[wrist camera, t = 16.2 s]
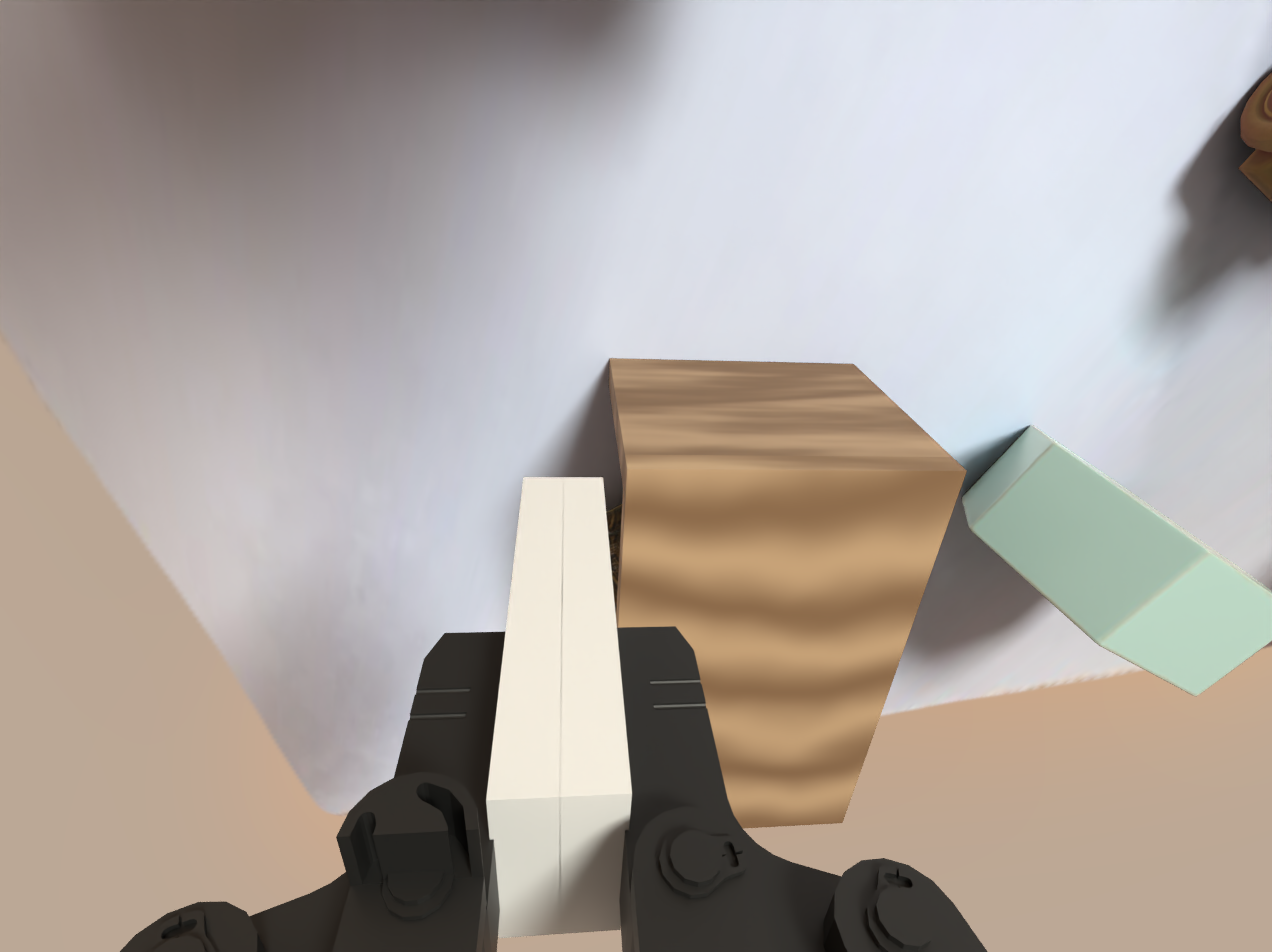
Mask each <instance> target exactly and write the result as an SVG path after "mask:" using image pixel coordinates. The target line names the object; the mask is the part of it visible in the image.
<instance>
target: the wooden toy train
mask: <svg viewBox="0 0 1272 952" xmlns="http://www.w3.org/2000/svg"><path fill="white" fill-rule="evenodd" d="M1241 138H1242V140H1243V141H1244V142H1245V143H1246V145H1247V146H1248V147H1252V148H1255V149H1256V150H1255V151H1254V152H1253V153H1252V154H1251V155H1250V156H1249V157H1248V158H1247V159H1246V161H1245V162H1244V163H1243V164H1242V165H1241V166H1240V167H1239V168H1238V169H1239V170H1240V171H1241V172H1242V173H1243V174H1244V175H1245V176H1246V177H1247V178H1248V179H1249V180H1250V181H1251V182H1252V183H1253V184H1254V185H1255V186H1256V187H1257V188H1258V189H1259V190H1260V191H1261V192H1262V193H1263V194H1264V195H1265V196H1266V197H1267V198H1268V199H1269V200H1270V201H1271V202H1272V73H1271V74H1270V75H1268V76H1267V77H1266V78H1265V79H1264V80H1263V81H1262V82H1261V83H1260V85H1259V86H1258V87H1257V89H1256V90H1255V92H1254V93H1253V94H1252V96H1251V97H1250V98H1249V100H1248V101H1247V103H1246V105H1245V108H1244V110H1243V112H1242V115H1241Z"/></svg>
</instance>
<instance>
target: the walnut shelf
mask: <svg viewBox="0 0 1272 952" xmlns="http://www.w3.org/2000/svg"><path fill="white" fill-rule="evenodd" d="M609 391H610V398H611V406H612V413H613V420H614V427H615V434H616V441H617V448H618V455H619V463H620V470H621V477H622V484H623V500H622V518H621V537H620V555H619V573H618V592H617V610H616V624H617V628H620V627H669V626H676V628H677V629H678V630H679V632H680V633H681V634H682V635H683V637H684V638H685V639H686V641H687V642H688V643H689V644H690V646H691V647H692V648H693V650H694V652H695V657H696V661H697V665H698V670H699V674H700V682H701V684H702V687H703V692H704V696H705V701H706V708H707V709H708V714H709V718H710V723H711V727H712V731H713V736H714V740H715V745H716V749H717V753H718V758H719V762H720V767H721V771H722V775H723V780H724V784H725V789H726V793H727V797H728V801H729V803H730V806H731V809H732V812H733V815H734V816H735V818H736V819H737V821H738V822H739V824H740V825H741V827H742V828H758V827H775V826H795V825H813V824H832V823H842V822H843V820H844V817H845V814H846V811H847V808H848V805H849V803H850V800H851V797H852V794H853V791H854V788H855V786H856V783H857V780H858V777H859V774H860V771H861V769H862V766H863V763H864V760H865V757H866V755H867V751H868V749H869V746H870V743H871V740H872V738H873V735H874V732H875V729H876V726H877V723H878V721H879V718H880V715H881V712H882V709H883V707H884V704H885V701H886V698H887V695H888V692H889V690H890V687H891V684H892V681H893V678H894V675H895V673H896V670H897V667H898V664H899V661H900V659H901V656H902V653H903V650H904V647H905V644H906V642H907V639H908V636H909V633H910V630H911V627H912V625H913V622H914V619H915V616H916V613H917V610H918V608H919V605H920V602H921V599H922V596H923V594H924V591H925V588H926V585H927V582H928V579H929V577H930V574H931V571H932V568H933V565H934V562H935V560H936V557H937V554H938V551H939V548H940V546H941V543H942V540H943V537H944V534H945V531H946V529H947V526H948V523H949V520H950V517H951V514H952V512H953V509H954V506H955V503H956V500H957V497H958V495H959V492H960V489H961V486H962V483H963V481H964V478H965V475H966V472H967V471H966V470H965V469H964V468H963V467H962V466H961V465H960V464H959V463H958V462H957V461H956V460H955V459H954V458H953V457H952V456H951V455H949V454H948V453H947V452H946V451H945V450H944V449H943V448H942V447H941V446H940V445H939V444H938V443H937V442H936V441H935V440H934V439H933V438H931V437H930V436H929V435H928V434H927V433H926V432H925V431H924V430H923V429H922V428H921V427H920V426H919V425H918V424H917V423H916V422H915V421H913V420H912V419H911V418H910V417H909V416H908V415H907V414H906V413H905V412H904V411H903V410H902V409H901V408H900V407H899V406H898V405H897V404H895V403H894V402H893V401H892V400H891V399H890V398H889V397H888V396H887V395H886V394H885V393H884V392H883V391H882V390H881V389H880V388H878V387H877V386H876V385H875V384H874V383H873V382H872V381H871V380H870V379H869V378H868V377H867V376H866V375H865V374H864V373H863V372H862V371H860V370H859V369H858V368H857V367H856V366H855V365H854V364H832V363H789V362H745V361H702V360H659V359H616V358H610V364H609Z"/></svg>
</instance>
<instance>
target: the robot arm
mask: <svg viewBox="0 0 1272 952" xmlns="http://www.w3.org/2000/svg"><path fill="white" fill-rule="evenodd" d="M336 838H337V841H338V845H339V848H340V852H341V855H342V859H343V862H344V866H345V869H346V872H345V873H344V874H343V875H341V876H340V877H338V878H337V879H336V880H334V881H333V882H332V883H330V884H328V885H326V886H324V887H322V888H320V889H318V890H316V891H314V892H312V893H310V894H308V895H305V896H302V897H299V898H297V899H294V900H291V901H289V902H286V903H284V904H281V905H278V906H276V907H273V908H270V909H268V910H265V911H263V912H260V913H257V914H255V915H252V916H248V914H247V912H245V911H244V910H241V909H239V908H238V907H235V906H233V905H231V904H230V903H227V902H197V903H195V904H192V905H189V906H186V907H184V908H181V909H178V910H175V911H173V912H170V913H167V914H166V915H164V916H163V917H161V918H160V919H158V920H157V921H155V922H154V923H152V924H151V925H149V926H148V927H147V928H145V929H144V930H142V931H141V932H139V933H138V934H136V935H135V936H134V937H133V938H132V939H131V940H130V941H129V942H128V944H127V945H126V946H125V947H124V948H123V949H122V950H121V951H120V952H497V939H498V935H499V938H507V937H521V936H535V935H549V934H564V933H579V932H594V931H608V930H620V928H621V935H622V950H623V952H987V951H986V949H985V948H984V946H983V945H982V943H981V942H980V941H979V939H978V938H977V936H976V935H975V933H974V932H973V931H972V929H971V928H970V926H969V925H968V923H967V922H966V921H965V919H964V918H963V916H962V915H961V913H960V912H959V911H958V909H957V908H956V907H955V905H954V904H953V902H952V901H951V900H950V899H949V898H948V897H947V896H946V895H945V894H944V893H943V892H942V890H941V889H940V888H939V887H938V886H937V885H936V884H935V883H934V882H933V881H932V880H931V879H929V878H928V877H926V876H924V875H923V874H921V873H920V872H918V871H917V870H915V869H914V868H912V867H910V866H909V865H906V864H902V863H899V862H895V861H892V860H888V859H884V858H882V859H872V860H863V861H860V862H859V863H857V864H856V865H854V866H853V867H851V868H850V869H848V870H847V871H845V872H844V873H843V875H842V877H841V876H838V875H834V874H830V873H827V872H823V871H820V870H817V869H813V868H810V867H806V866H803V865H799V864H796V863H792V862H790V861H787V860H785V859H782V858H780V857H777V856H775V855H773V854H771V853H770V852H768V851H767V850H765V849H764V848H762V847H761V846H760V845H758V844H757V843H756V842H755V841H754V840H753V839H752V838H751V837H750V836H749V835H748V834H747V833H746V832H745V831H744V830H743V829H742V827H741V825H740V824H739V822H738V821H737V819H736V818H735V816H734V815H733V812H732V809H731V806H730V803H729V801H728V797H727V793H726V789H725V784H724V780H723V775H722V771H721V767H720V762H719V758H718V753H717V749H716V745H715V740H714V736H713V731H712V727H711V723H710V718H709V714H708V709H707V708H706V701H705V696H704V692H703V687H702V684H701V682H700V674H699V670H698V665H697V661H696V657H695V652H694V650H693V648H692V647H691V646H690V644H689V643H688V642H687V641H686V639H685V638H684V637H683V635H682V634H681V633H680V632H679V630H678V629H677V628H676V626H669V627H620V628H617V624H616V613H615V602H614V592H613V581H612V570H611V559H610V548H609V537H608V526H607V516H606V505H605V494H604V483H603V477H523V485H522V494H521V503H520V511H519V520H518V529H517V537H516V546H515V555H514V563H513V572H512V581H511V589H510V598H509V606H508V615H507V624H506V632H475V633H444V635H443V636H442V637H441V638H440V640H439V641H438V642H437V643H436V645H435V646H434V647H433V648H432V650H431V651H430V652H429V653H428V655H427V656H426V657H425V659H424V662H423V665H422V669H421V673H420V677H419V681H418V685H417V693H416V695H415V697H414V701H413V705H412V709H411V713H410V720H409V721H408V724H407V728H406V732H405V736H404V740H403V744H402V748H401V752H400V756H399V760H398V764H397V768H396V772H395V776H394V778H393V779H391V780H389V781H387V782H385V783H384V784H382V785H380V786H378V787H376V788H374V789H373V790H371V791H370V792H369V793H368V794H367V795H366V796H365V797H364V798H363V799H362V800H361V801H359V802H358V803H357V804H356V805H355V806H354V807H353V808H352V809H351V810H350V811H349V813H348V815H347V817H346V819H345V821H344V823H343V825H342V827H341V829H340V831H339V833H338V835H337V837H336Z"/></svg>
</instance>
